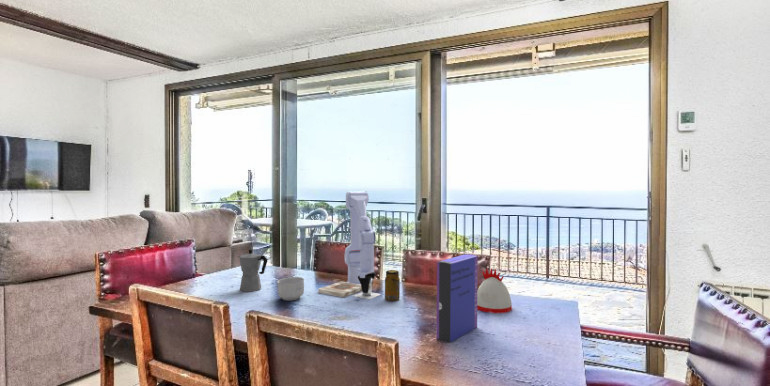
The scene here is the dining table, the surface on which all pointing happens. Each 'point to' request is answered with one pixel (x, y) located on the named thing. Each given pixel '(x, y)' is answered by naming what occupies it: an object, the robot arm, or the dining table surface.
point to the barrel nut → (369, 289)
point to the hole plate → (344, 292)
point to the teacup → (290, 288)
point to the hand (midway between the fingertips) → (366, 291)
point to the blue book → (456, 297)
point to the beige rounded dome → (493, 294)
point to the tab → (367, 296)
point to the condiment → (392, 285)
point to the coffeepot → (251, 271)
